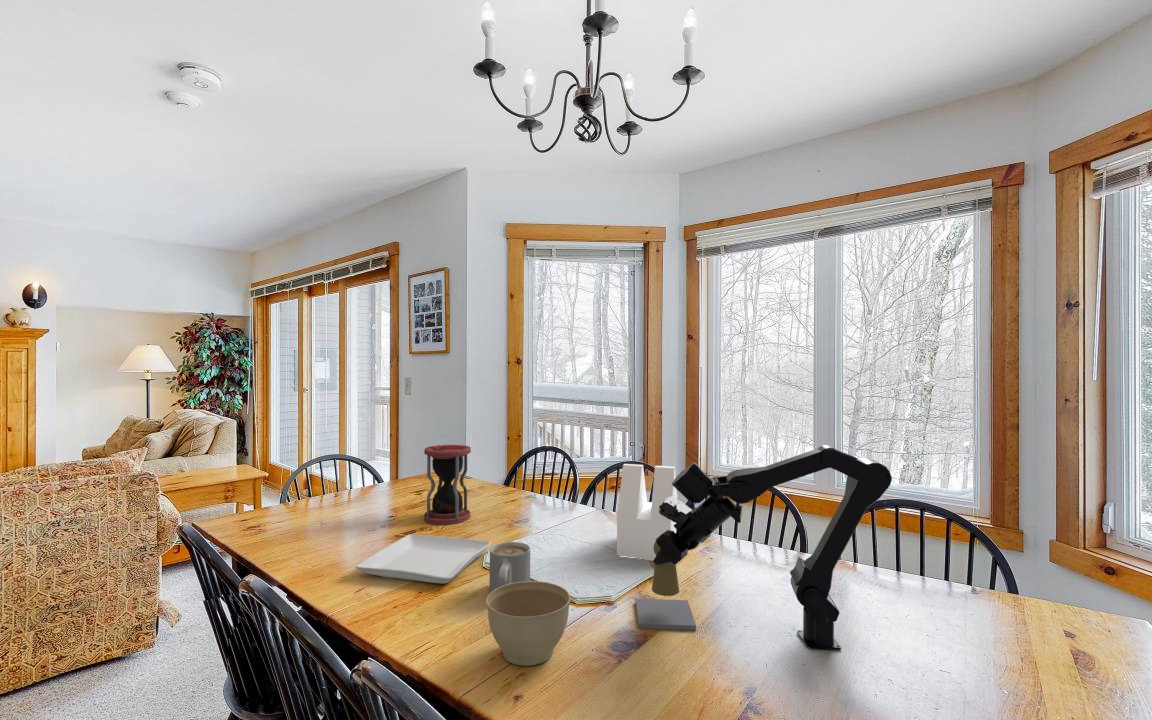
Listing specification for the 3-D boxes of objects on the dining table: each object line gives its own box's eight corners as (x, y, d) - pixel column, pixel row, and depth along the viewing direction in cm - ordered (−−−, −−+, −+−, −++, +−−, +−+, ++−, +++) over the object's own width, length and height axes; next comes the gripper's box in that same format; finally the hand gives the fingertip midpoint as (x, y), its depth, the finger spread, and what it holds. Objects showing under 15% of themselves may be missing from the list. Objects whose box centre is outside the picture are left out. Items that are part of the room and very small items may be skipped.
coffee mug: (499, 578, 140) (500, 540, 140) (535, 583, 137) (536, 544, 137) (475, 600, 127) (476, 558, 127) (515, 606, 124) (515, 563, 124)
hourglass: (457, 509, 204) (457, 442, 204) (478, 519, 191) (479, 448, 191) (416, 516, 193) (416, 447, 193) (436, 528, 181) (436, 453, 181)
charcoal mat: (696, 630, 114) (696, 625, 114) (638, 628, 114) (638, 623, 114) (687, 604, 126) (687, 600, 126) (635, 602, 126) (635, 598, 126)
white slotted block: (670, 563, 152) (671, 474, 152) (616, 557, 156) (617, 470, 156) (677, 541, 170) (677, 461, 170) (628, 536, 174) (629, 458, 174)
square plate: (352, 580, 139) (353, 565, 139) (409, 544, 166) (410, 532, 166) (449, 591, 133) (449, 576, 133) (492, 553, 159) (492, 539, 159)
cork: (680, 596, 117) (680, 545, 117) (652, 595, 117) (652, 544, 117) (677, 584, 123) (677, 536, 123) (650, 583, 123) (650, 535, 123)
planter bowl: (585, 645, 107) (585, 591, 107) (538, 688, 93) (539, 625, 93) (519, 625, 115) (520, 574, 115) (468, 661, 102) (468, 603, 102)
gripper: (697, 479, 126) (653, 519, 132) (664, 496, 110) (617, 540, 116) (730, 518, 121) (684, 557, 127) (702, 541, 106) (650, 585, 112)
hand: (659, 559), depth 121 cm, fingers closed on cork, 5 cm apart
